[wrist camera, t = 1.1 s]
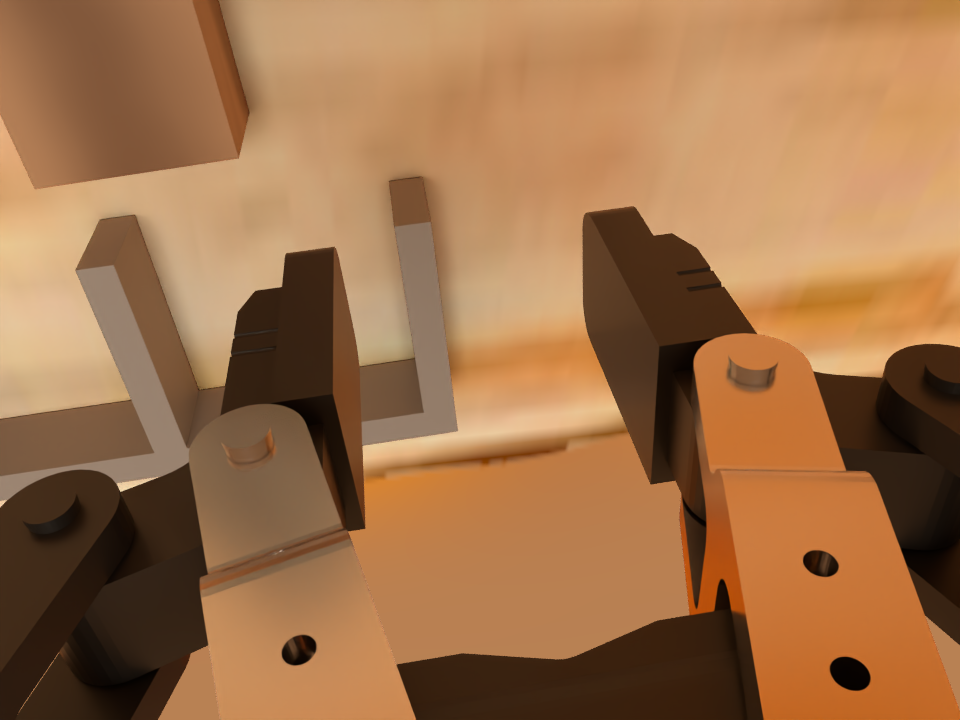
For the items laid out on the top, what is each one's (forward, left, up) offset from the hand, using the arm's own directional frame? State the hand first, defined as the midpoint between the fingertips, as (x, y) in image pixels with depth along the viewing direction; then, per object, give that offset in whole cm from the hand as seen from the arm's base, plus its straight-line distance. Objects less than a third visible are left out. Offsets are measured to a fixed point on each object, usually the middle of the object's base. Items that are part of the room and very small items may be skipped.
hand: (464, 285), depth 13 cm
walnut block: (+8, 0, -18) cm, 19 cm away
